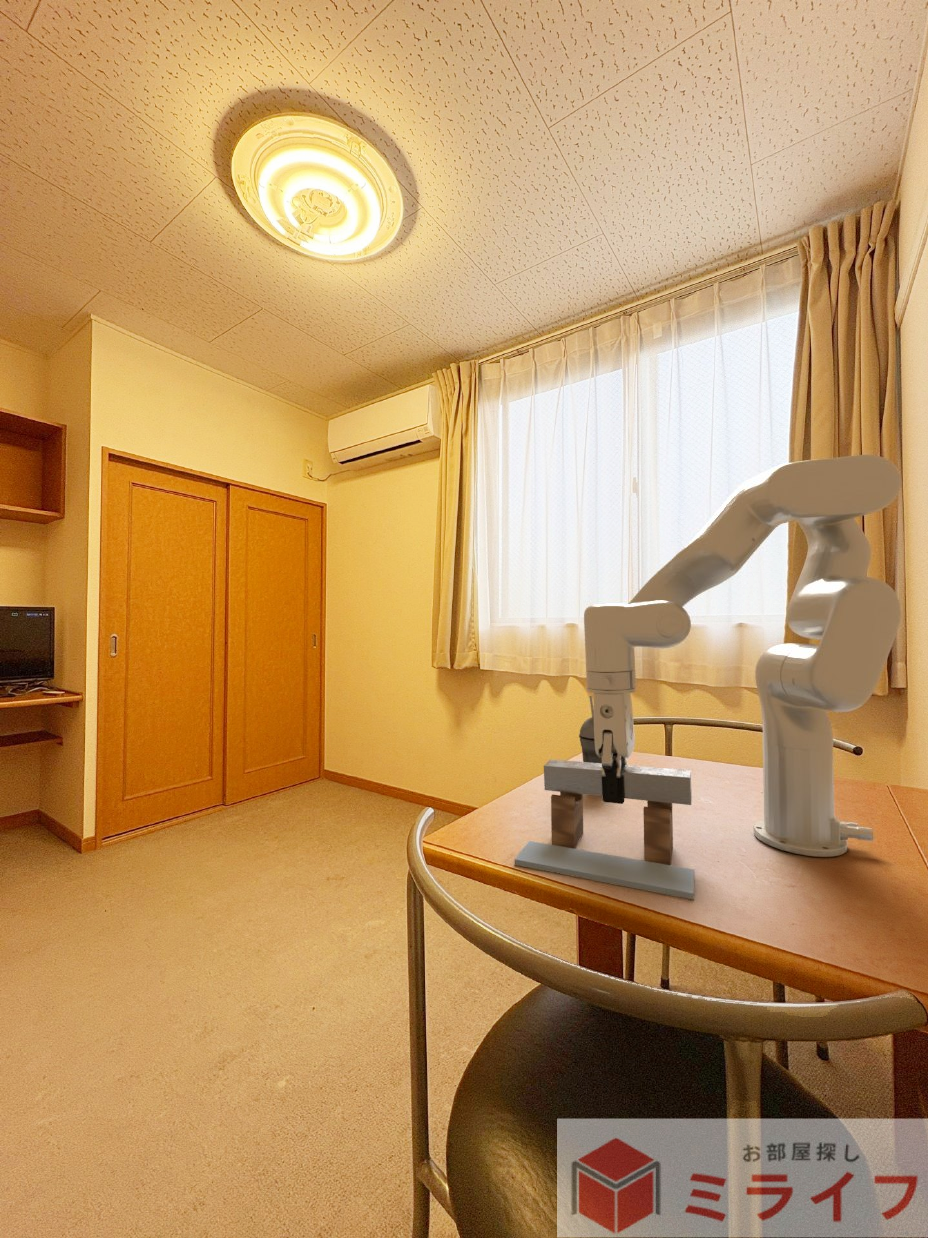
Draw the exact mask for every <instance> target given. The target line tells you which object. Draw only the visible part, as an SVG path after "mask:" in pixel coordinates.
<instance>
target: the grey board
mask: <svg viewBox="0 0 928 1238" xmlns="http://www.w3.org/2000/svg"><path fill="white" fill-rule="evenodd" d="M514 865H515V866H519V865H520V866H521V867H524V866H525V867H526V868H529V869H533V870H540V871H544V870H546V871H545V872H549V871H550V873H554V872H558V873H557V874H559V873H560V874H559V875H565V874H567V875H566V876H570V875H573V876H572V877H575V876H576V877H575V878H580V877H581V879H586V880H591V881H596V882H601V883H606V884H611V885H616V886H620V887H625V888H631V889H632V888H633V889H636V890H642V891H646V892H652V893H657V894H663V895H667V896H672V897H678V898H682V899H687V900H693V901H694V899H695V869H693V868H687V867H682V866H677V865H672V864H671V865H665V864H660V863H654V862H648V861H644V860H642V859H637V858H636V859H635V858H629V857H624V856H618V855H612V854H608V853H601V852H595V851H590V850H584V849H578V848H575V849H573V848H567V847H562V846H556V845H552V844H549V843H544V842H537V841H532V840H529V841H528V842H527V843H526V844H525V846H524V847H523V848H522V849H521V851H519V853H518V855H517V856H516V857H515V858H514ZM520 866H519V867H520ZM525 867H524V868H525Z"/></svg>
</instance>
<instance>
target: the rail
mask: <svg viewBox="0 0 928 1238" xmlns="http://www.w3.org/2000/svg"><path fill="white" fill-rule="evenodd" d="M621 777H623V780H624V799H628V800H637V801H639V800H640V801H656V802H665V803H672V804H677V805H678V804H679V805H684V806H685V805H687V806H691V805H692V801H693V800H692V799H693V795H692V793H693V792H692V772H691V769H681V768H679V769H678V768H668V767H667V768H666V767H665V768H664V767H653V766H644V765H643V766H641V765H629V764H627V765H621ZM543 781H544V782H543V783H544V791H549V792H550V791H552V792H557V793H558V792H559V793H560V792H568V793H577V794H583V795H588V796H589V795H590V796H597V797H598V796H599V797H602V763H590V762H583V761H575V760H561V759H549V760H548V761H547V762H546V763H545V764H544V765H543Z"/></svg>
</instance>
